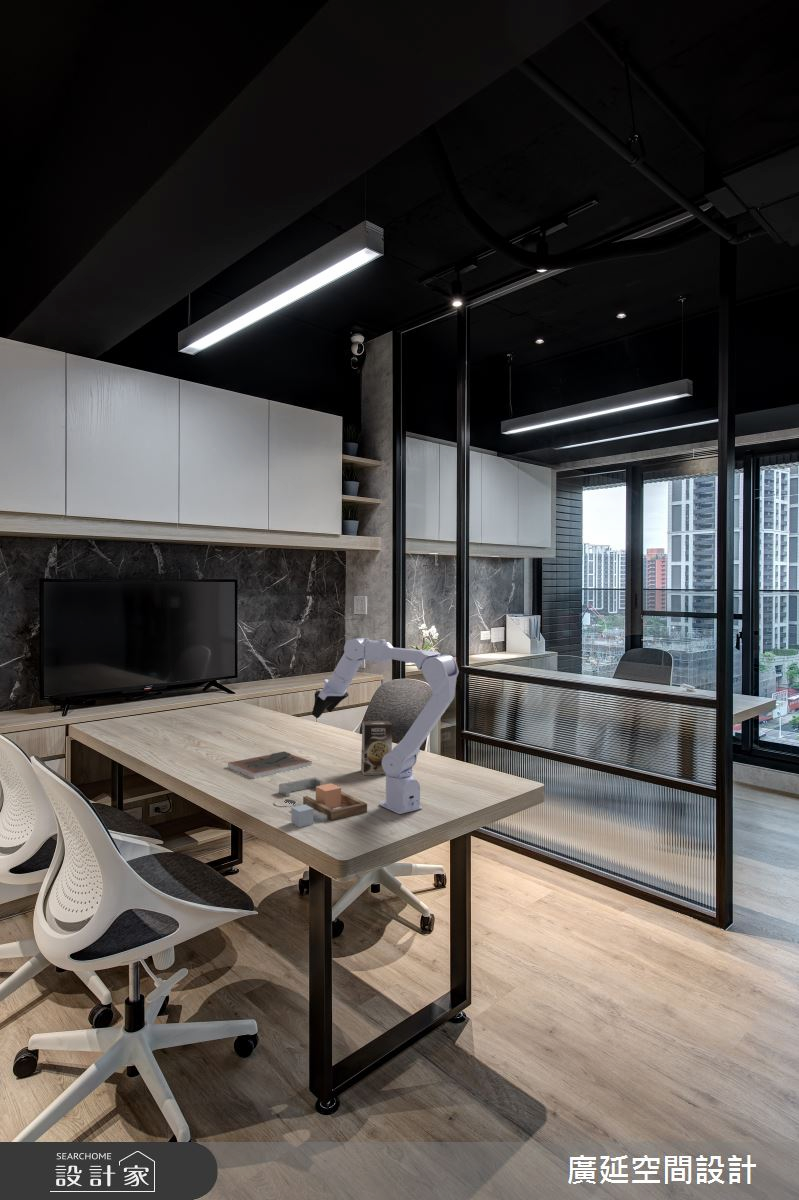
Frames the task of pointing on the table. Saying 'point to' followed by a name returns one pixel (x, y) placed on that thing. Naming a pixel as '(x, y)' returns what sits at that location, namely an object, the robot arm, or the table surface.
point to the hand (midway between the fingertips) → (321, 713)
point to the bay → (352, 809)
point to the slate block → (302, 815)
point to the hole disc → (290, 801)
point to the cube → (329, 795)
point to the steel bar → (316, 814)
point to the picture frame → (269, 764)
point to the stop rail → (299, 785)
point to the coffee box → (375, 746)
